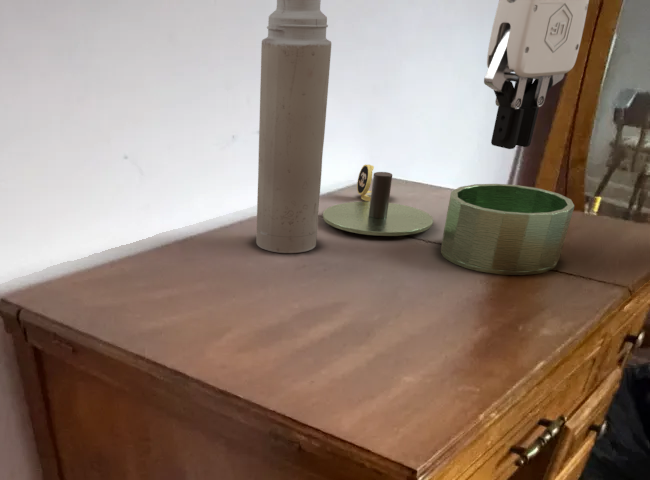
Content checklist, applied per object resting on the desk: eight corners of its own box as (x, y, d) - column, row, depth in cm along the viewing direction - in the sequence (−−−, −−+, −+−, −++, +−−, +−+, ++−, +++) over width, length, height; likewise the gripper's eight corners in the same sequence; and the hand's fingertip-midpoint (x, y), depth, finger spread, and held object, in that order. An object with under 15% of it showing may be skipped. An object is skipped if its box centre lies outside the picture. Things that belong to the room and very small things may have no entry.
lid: (380, 204, 112) (386, 157, 108) (455, 229, 102) (464, 179, 98) (300, 218, 105) (303, 168, 101) (371, 247, 95) (378, 193, 91)
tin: (492, 233, 101) (504, 179, 97) (580, 262, 92) (598, 204, 87) (417, 249, 95) (426, 192, 90) (503, 283, 86) (519, 221, 81)
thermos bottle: (291, 231, 100) (306, -24, 82) (328, 247, 95) (351, -22, 77) (244, 240, 96) (249, -24, 79) (279, 257, 91) (293, -22, 74)
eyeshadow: (392, 201, 114) (397, 167, 110) (362, 202, 113) (366, 168, 110) (383, 194, 117) (387, 161, 114) (354, 195, 116) (357, 161, 113)
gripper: (534, -62, 67) (488, 159, 78) (635, -57, 74) (579, 145, 85) (473, -61, 71) (438, 146, 83) (573, -57, 78) (528, 134, 90)
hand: (510, 144), depth 84 cm, fingers closed
